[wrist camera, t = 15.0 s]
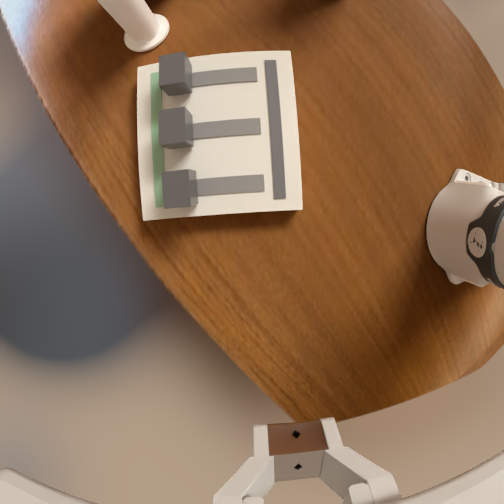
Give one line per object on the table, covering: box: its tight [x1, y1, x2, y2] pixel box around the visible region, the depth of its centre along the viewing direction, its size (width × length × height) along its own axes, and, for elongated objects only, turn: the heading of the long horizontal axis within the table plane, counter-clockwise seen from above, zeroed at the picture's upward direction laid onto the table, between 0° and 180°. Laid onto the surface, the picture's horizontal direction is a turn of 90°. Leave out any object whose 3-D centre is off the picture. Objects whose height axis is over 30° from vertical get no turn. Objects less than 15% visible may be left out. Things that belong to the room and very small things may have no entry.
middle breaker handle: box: [158, 106, 194, 149], centre depth 31 cm, size 3×4×4 cm
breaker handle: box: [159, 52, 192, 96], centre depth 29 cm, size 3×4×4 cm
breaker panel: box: [137, 51, 303, 221], centre depth 35 cm, size 20×21×3 cm
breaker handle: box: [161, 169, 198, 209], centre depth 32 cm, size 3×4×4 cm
